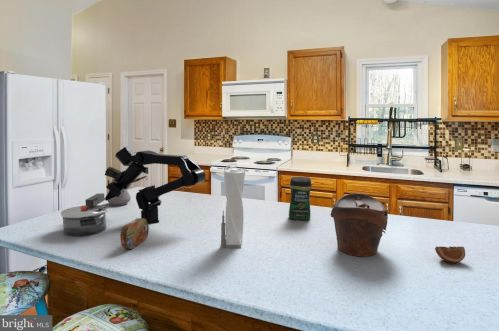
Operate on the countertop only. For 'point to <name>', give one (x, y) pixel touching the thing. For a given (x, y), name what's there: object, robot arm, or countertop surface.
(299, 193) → the coffee jar
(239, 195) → the skyscraper
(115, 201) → the coffee pot
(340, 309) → the countertop surface
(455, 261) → the fruit slice
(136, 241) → the tin
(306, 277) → the countertop surface
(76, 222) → the cooker pot
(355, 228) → the brown flower pot
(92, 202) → the cooker lid
